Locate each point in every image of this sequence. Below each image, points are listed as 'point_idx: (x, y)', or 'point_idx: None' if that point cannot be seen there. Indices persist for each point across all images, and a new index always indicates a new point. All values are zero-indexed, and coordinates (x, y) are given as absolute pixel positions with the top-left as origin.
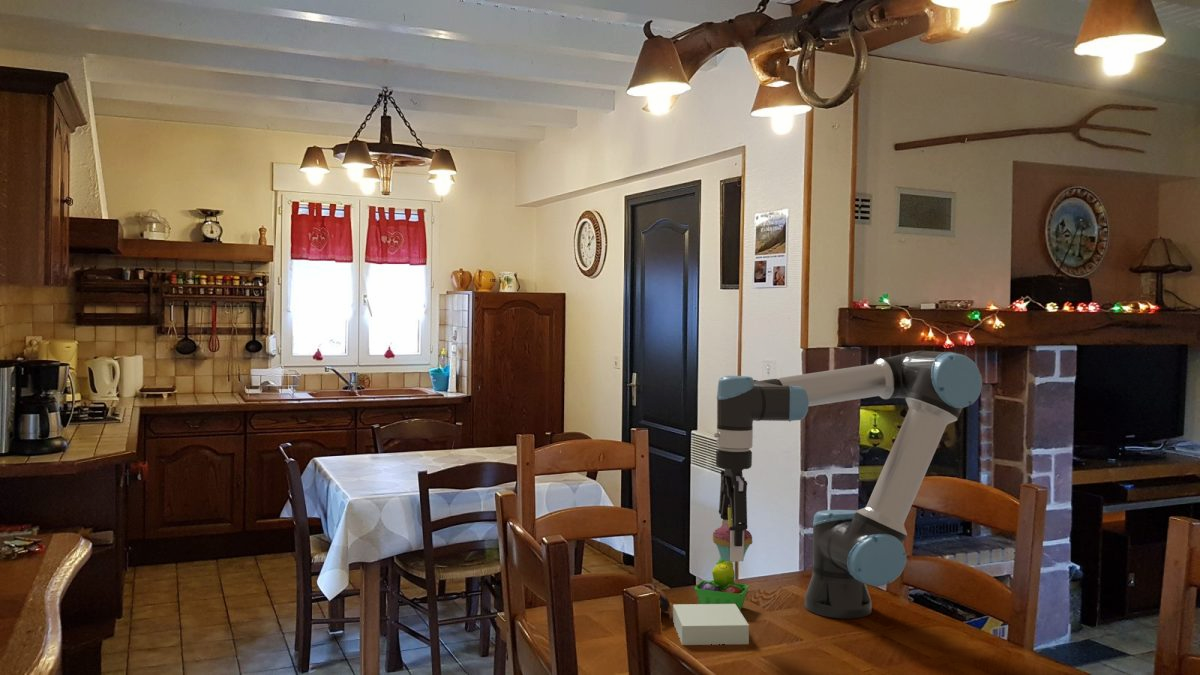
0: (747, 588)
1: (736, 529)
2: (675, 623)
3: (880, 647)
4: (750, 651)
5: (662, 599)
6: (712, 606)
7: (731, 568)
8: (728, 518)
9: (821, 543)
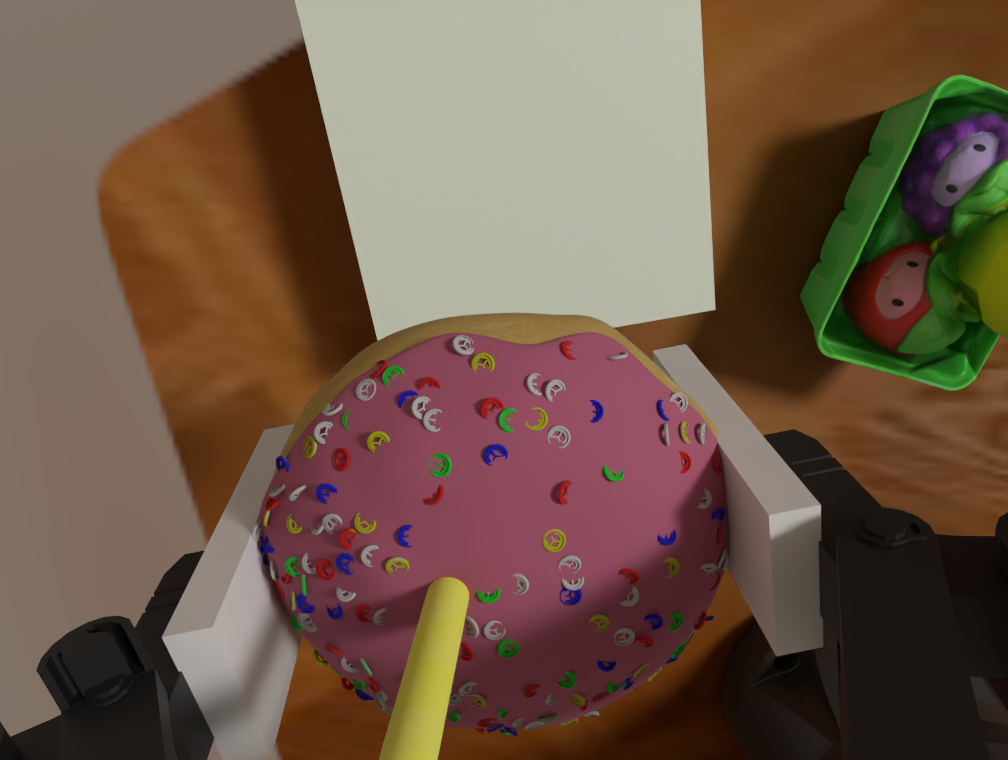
0: (930, 382)
1: (52, 723)
2: None
3: (442, 754)
4: (304, 339)
5: None
6: (664, 184)
7: None
8: (407, 685)
9: None
